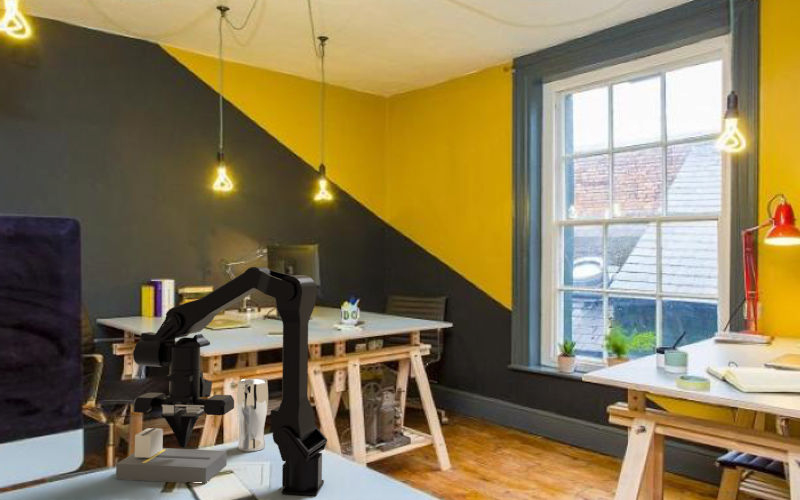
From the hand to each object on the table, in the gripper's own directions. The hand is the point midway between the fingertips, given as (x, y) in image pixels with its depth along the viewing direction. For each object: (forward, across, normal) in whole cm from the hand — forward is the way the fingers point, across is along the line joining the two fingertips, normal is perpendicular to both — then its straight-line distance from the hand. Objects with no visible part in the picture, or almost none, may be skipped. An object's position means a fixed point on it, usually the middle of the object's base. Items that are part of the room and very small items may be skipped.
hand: (183, 446), depth 116 cm
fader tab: (+2, +7, 0) cm, 7 cm away
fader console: (+5, +2, 0) cm, 6 cm away
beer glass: (+5, -8, -17) cm, 19 cm away
